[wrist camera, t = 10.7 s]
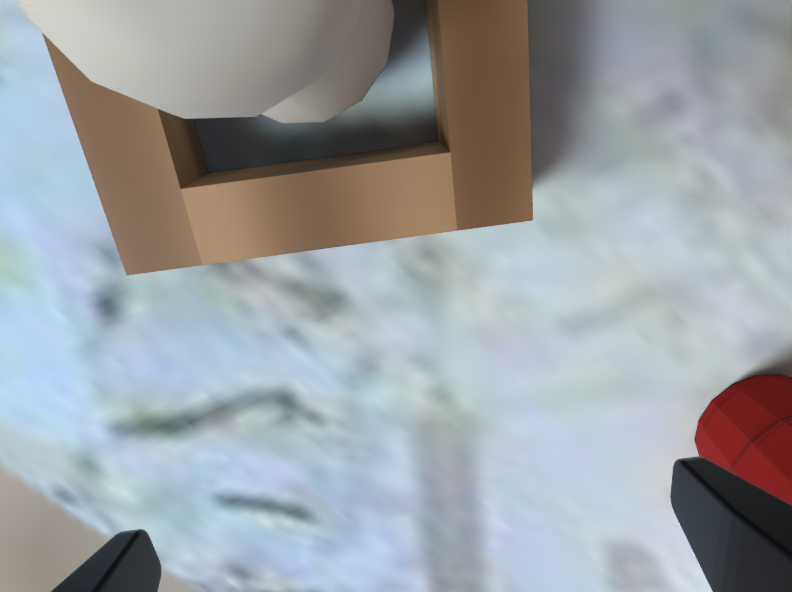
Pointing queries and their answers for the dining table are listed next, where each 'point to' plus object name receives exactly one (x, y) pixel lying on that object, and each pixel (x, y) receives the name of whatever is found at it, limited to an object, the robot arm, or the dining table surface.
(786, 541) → the robot arm
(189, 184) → the frame
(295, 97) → the salt shaker
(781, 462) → the plastic cup
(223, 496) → the dining table surface
